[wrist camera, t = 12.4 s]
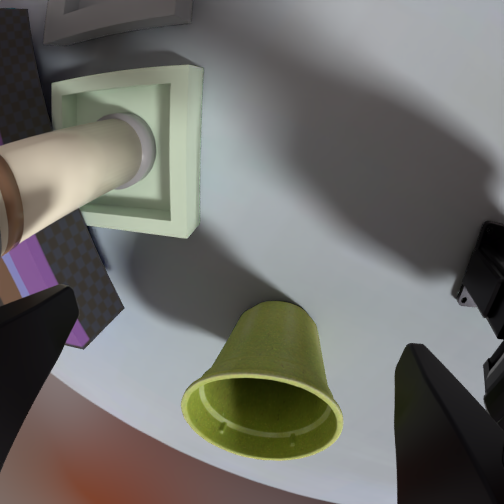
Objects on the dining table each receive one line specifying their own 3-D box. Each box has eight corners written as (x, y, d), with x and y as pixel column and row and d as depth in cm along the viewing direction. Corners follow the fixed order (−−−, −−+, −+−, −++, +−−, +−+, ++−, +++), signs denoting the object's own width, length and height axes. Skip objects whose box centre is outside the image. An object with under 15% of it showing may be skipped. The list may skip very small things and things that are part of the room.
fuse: (140, 99, 17) (-57, 136, 6) (167, 169, 19) (-6, 274, 7) (87, 131, 19) (-83, 192, 7) (111, 194, 20) (-42, 293, 9)
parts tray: (203, 68, 16) (189, 64, 14) (199, 223, 21) (187, 238, 19) (73, 81, 18) (51, 83, 16) (81, 210, 22) (62, 222, 20)
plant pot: (354, 289, 21) (366, 387, 14) (325, 379, 26) (321, 468, 18) (219, 269, 22) (173, 356, 15) (218, 362, 27) (187, 444, 19)
